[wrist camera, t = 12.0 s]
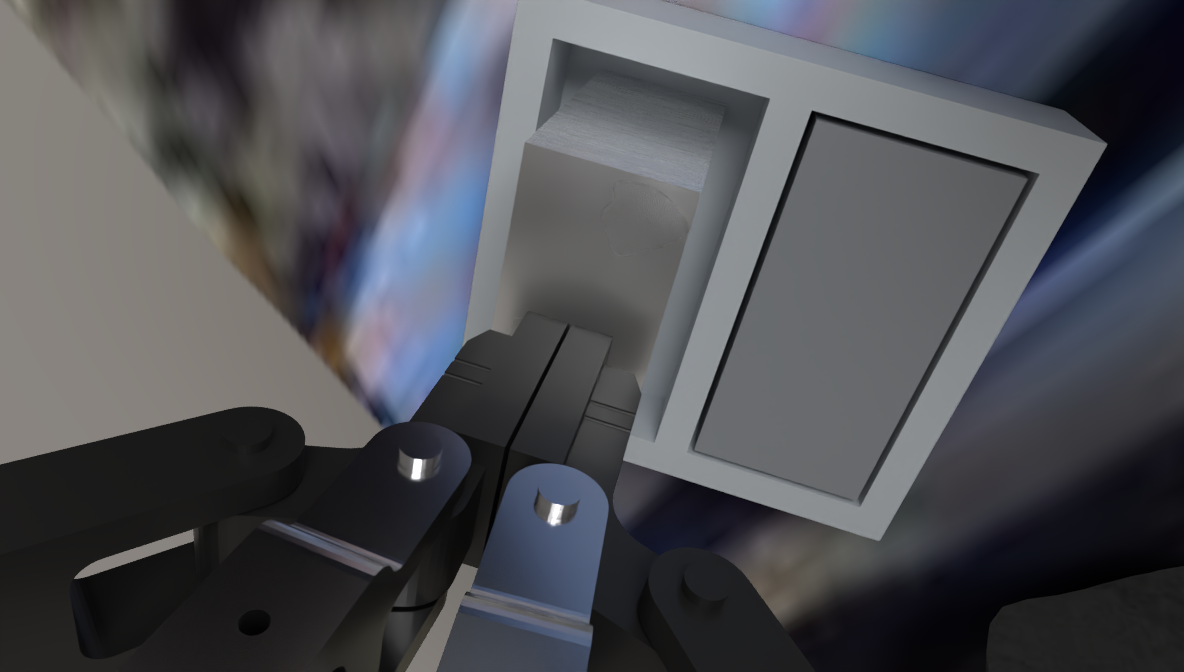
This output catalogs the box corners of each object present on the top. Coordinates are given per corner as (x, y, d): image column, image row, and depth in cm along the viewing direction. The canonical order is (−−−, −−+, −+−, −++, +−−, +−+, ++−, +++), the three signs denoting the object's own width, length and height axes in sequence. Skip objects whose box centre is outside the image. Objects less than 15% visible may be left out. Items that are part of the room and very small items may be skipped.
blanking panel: (602, 68, 17) (524, 141, 12) (726, 103, 17) (700, 193, 12) (544, 336, 21) (464, 479, 16) (646, 367, 21) (600, 523, 16)
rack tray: (554, -29, 17) (520, -18, 15) (1063, 109, 16) (1107, 144, 14) (482, 372, 23) (450, 424, 20) (861, 490, 22) (869, 558, 20)
